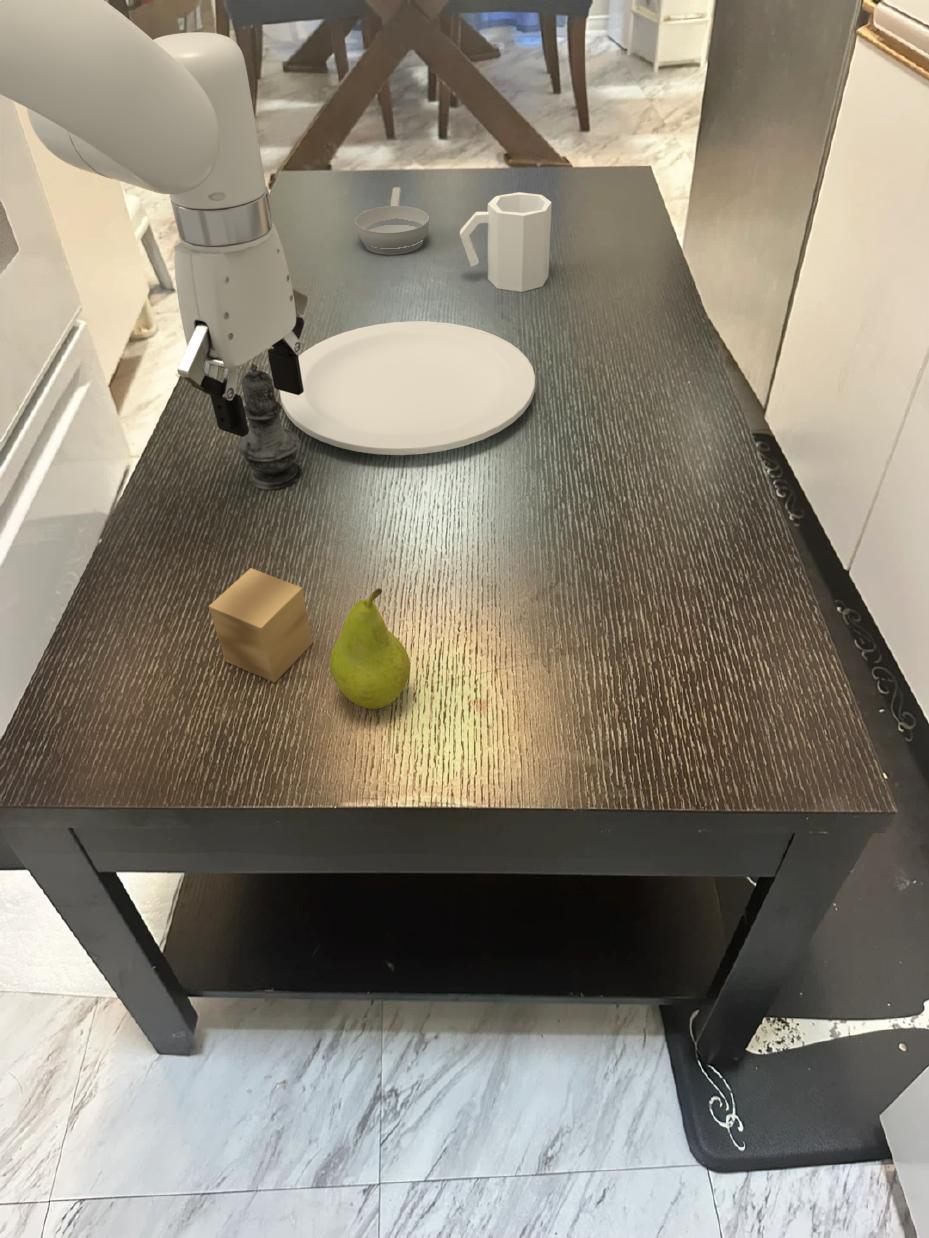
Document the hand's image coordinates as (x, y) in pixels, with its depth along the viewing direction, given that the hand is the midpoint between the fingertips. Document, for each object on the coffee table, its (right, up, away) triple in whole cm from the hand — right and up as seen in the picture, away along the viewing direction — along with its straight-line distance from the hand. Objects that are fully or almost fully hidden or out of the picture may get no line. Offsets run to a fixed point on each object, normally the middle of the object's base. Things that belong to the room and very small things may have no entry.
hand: (262, 409), depth 83 cm
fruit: (+12, -26, -16) cm, 33 cm away
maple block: (+3, -22, -13) cm, 26 cm away
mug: (+25, +27, +38) cm, 53 cm away
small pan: (+9, +38, +51) cm, 64 cm away
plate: (+13, +5, +16) cm, 21 cm away
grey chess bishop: (0, -5, +5) cm, 7 cm away
